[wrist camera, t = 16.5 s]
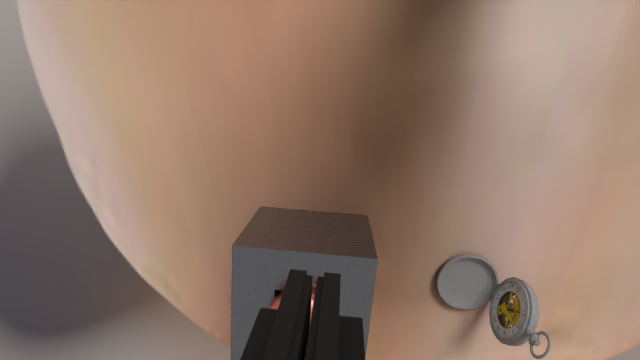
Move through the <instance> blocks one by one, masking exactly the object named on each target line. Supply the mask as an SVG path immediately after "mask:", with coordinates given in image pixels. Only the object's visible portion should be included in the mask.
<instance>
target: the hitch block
mask: <svg viewBox="0 0 640 360" xmlns="http://www.w3.org/2000/svg"><path fill="white" fill-rule="evenodd" d="M376 267H377V255H376V251H375V246H374V242H373V238H372V233H371V229H370V225H369V221H368V216H361V215H350V214H339V213H328V212H316V211H305V210H294V209H282V208H271V207H260V208H259V210H258V211H257V212H256V214H255V215H254V217H253V218H252V219H251V221H250V222H249V223H248V225H247V226H246V227H245V229H244V230H243V232H242V233H241V234H240V236H239V237H238V238H237V240H236V241H235V242H234V244H233V245H232V306H231V360H240V359H241V356H242V354H243V351H244V349H245V346H246V343H247V341H248V338H249V336H250V333H251V331H252V328H253V325H254V323H255V320H256V318H257V315H258V313H259V310H260V309H261V308H269V306H270V304H271V301H272V300H273V298H274V297H275V296H276V295H277V294H278V293H279V292H281V291H282V290H284V288H285V284H286V281H287V278H288V275H289V271H290V269H295V270H306V271H307V275H311V276H313V281H312V289H314V290H316V284H317V277H318V276H322V277H324V273H325V272H327V273H338V274H341V282H340V310H339V315H340V316H350V317H360V318H362V319H363V332H364V348H365V356H366V348H367V340H368V332H369V324H370V315H371V307H372V299H373V291H374V283H375V275H376Z"/></svg>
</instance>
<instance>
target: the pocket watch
mask: <svg viewBox="0 0 640 360" xmlns="http://www.w3.org/2000/svg"><path fill="white" fill-rule="evenodd" d="M436 283H437V289H438V292H439V294H440V296H441V298H442V299H443V300H444V301H445V302H446V303H447V304H448V305H450V306H452V307H455V308H457V309H466V310H469V309H474V308H478V307H480V306H482V305H484V304H485V303H487V302H488V301H489V300H491V304H490V313H489V316H490V324H491V328H492V331H493V333H494V335H495V336H496V338H497V339H498V340H499V341H500V342H501V343H503V344H506V345H510V346H518V345H522V344H524V343H525V342H527V341H528V340H529V344H530V351H531V354H532V356H533V357H534V358H536V359H541V358H544V357H545V356H546V355H547V354H548V352H549V350H550V347H551V340H550V336H549V335H548V333H546V332H544V331H540V332H538V333H534V331H535V328H536V326H537V322H538V316H539V305H538V300H537V296H536V294H535V292H534V290H533V288H532V287H531V286H530V285H529V284H528V283H526V282H525V281H523V280H521V279H518V278H514V277H512V278H508V279H505V280H504V281H503V282H501V284H498V276H497V273H496V270H495V269H494V267H493V266H492V265H491V264H490V263H489V262H488V261H487V260H485V259H484V258H482V257H479V256H476V255H461V256H457V257H454V258H453V259H451V260H449V261H448V262H447V263H445V264H444V265H443V267H442V268H441V269H440V271H439V273H438V276H437V282H436ZM514 295H517V296H515V298H513V296H514ZM516 298H517V300H516ZM511 299H513V305H512V303H510V301H511ZM509 303H510V304H509ZM512 306H513V308H512ZM512 309H513V310H512ZM506 317H507V318H508V319H507V321H506ZM510 321H511V322H510ZM509 323H510V324H512V323H513V325H512V328H511V326H510V325H509ZM508 325H509V326H508ZM541 334H543V335H545V336H546V337H547V340H548V347H547V350H546V352H545V353H544V354H542V355H540V356H537V355H535V354H534V351H533V345H536V346H538V345H540V341H539V335H541Z"/></svg>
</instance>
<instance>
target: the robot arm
mask: <svg viewBox="0 0 640 360" xmlns="http://www.w3.org/2000/svg"><path fill="white" fill-rule="evenodd" d="M312 281H313V276H311V275H307V271H306V270H295V269H290V271H289V275H288V278H287V281H286V284H285V288H284V291H283V294H282V297H281V301H280V304H279V307H278V309H270V308H261V309H260V310H259V313H258V315H257V318H256V320H255V323H254V325H253V328H252V331H251V333H250V336H249V338H248V341H247V343H246V346H245V349H244V351H243V354H242V356H241V359H240V360H365V348H364V332H363V319H362V318H360V317H350V316H340V315H339V310H340V282H341V274H338V273H327V272H325V273H324V277H322V276H318V277H317V284H316V290H315V297H314V303H313V310H312V316H311V298H312ZM310 316H311V322H310Z"/></svg>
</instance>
